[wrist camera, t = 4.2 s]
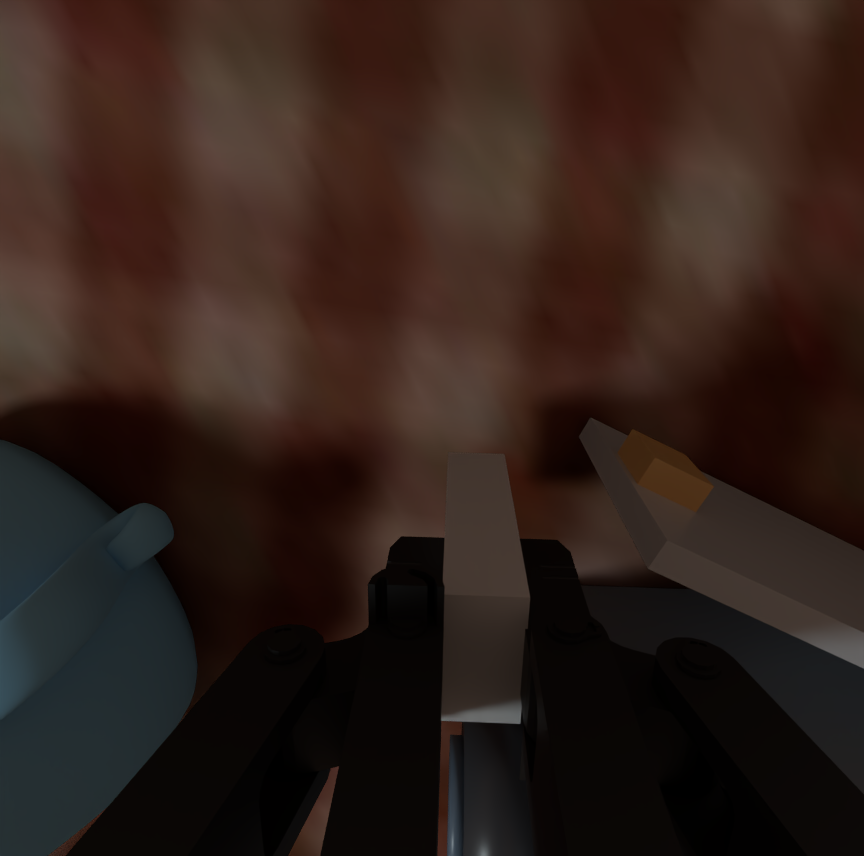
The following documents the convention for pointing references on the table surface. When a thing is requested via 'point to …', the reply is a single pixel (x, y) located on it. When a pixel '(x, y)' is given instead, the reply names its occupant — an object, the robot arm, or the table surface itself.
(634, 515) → the side door
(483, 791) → the camera case
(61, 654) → the teapot
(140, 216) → the table surface
